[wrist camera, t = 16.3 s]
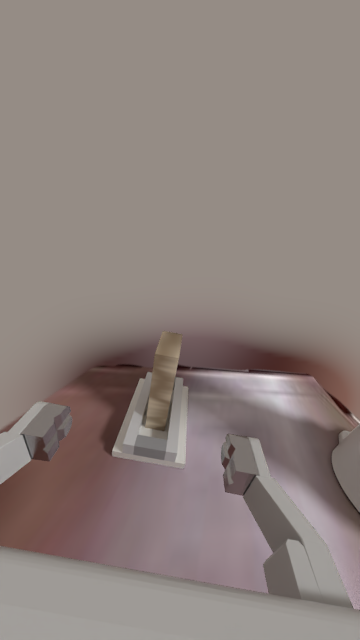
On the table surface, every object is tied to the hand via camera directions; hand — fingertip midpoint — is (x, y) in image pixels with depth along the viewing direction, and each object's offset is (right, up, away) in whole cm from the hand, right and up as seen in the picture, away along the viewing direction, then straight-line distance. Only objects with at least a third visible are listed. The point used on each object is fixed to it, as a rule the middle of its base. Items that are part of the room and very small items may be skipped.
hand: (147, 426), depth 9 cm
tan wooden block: (-2, -10, +22) cm, 24 cm away
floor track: (-2, -11, +22) cm, 25 cm away
